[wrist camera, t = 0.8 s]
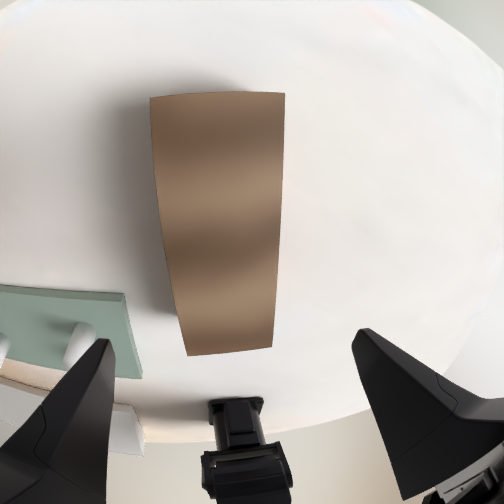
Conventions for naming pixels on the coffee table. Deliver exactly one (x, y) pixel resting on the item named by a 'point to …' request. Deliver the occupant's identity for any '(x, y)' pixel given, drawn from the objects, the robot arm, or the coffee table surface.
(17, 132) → the coffee table surface
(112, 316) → the peg base
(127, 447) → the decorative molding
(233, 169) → the walnut shelf board
